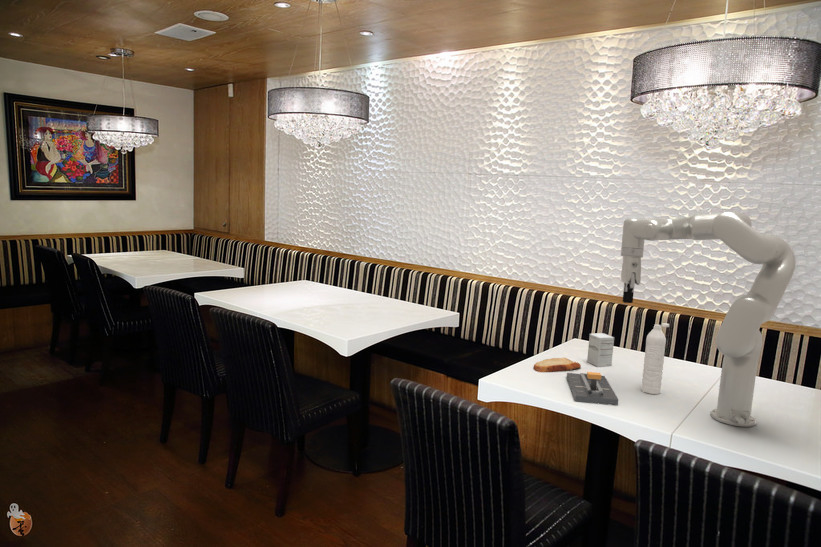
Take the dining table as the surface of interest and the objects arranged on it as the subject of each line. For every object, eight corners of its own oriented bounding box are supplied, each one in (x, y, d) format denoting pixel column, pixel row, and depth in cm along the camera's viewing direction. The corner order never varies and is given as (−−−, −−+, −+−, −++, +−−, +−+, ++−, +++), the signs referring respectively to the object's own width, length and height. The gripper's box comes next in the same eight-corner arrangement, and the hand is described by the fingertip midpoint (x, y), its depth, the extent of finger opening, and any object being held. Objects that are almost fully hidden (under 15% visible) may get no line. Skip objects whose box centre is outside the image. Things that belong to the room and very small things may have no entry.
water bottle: (651, 395, 202) (659, 327, 198) (637, 389, 207) (644, 323, 204) (668, 392, 206) (675, 325, 202) (653, 386, 211) (660, 321, 208)
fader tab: (600, 390, 198) (601, 375, 197) (587, 389, 198) (588, 374, 198) (598, 388, 200) (600, 372, 200) (585, 386, 201) (587, 371, 200)
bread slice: (531, 371, 225) (532, 362, 224) (537, 360, 241) (538, 351, 241) (578, 378, 219) (579, 369, 218) (581, 366, 235) (581, 357, 235)
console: (617, 405, 190) (618, 396, 190) (575, 401, 192) (575, 392, 192) (604, 381, 216) (604, 372, 215) (566, 377, 218) (567, 369, 217)
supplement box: (586, 362, 240) (588, 333, 239) (601, 361, 243) (603, 332, 241) (597, 367, 233) (599, 337, 232) (612, 366, 236) (614, 337, 234)
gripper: (648, 255, 196) (643, 306, 199) (637, 251, 211) (633, 299, 213) (625, 254, 197) (621, 305, 200) (616, 250, 212) (612, 298, 214)
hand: (627, 302), depth 206 cm, fingers closed
